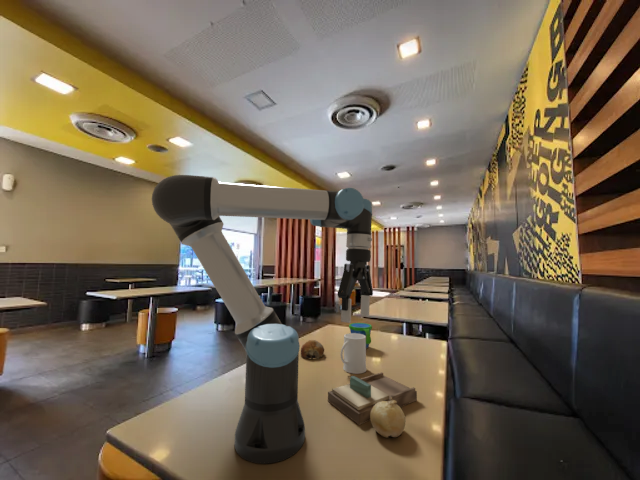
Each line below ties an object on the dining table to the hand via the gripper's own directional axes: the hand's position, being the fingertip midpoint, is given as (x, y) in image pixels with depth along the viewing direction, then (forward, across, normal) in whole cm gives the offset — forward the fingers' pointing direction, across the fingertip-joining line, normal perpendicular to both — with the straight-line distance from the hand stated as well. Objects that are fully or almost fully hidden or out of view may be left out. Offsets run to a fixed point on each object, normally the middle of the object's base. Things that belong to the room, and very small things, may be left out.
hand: (355, 318), depth 80 cm
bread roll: (+23, +22, +30) cm, 43 cm away
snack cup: (+22, +44, +17) cm, 52 cm away
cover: (+19, -4, -4) cm, 20 cm away
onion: (+22, -11, -14) cm, 28 cm away
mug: (+22, +17, +9) cm, 29 cm away
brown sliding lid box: (+22, +1, -6) cm, 23 cm away
